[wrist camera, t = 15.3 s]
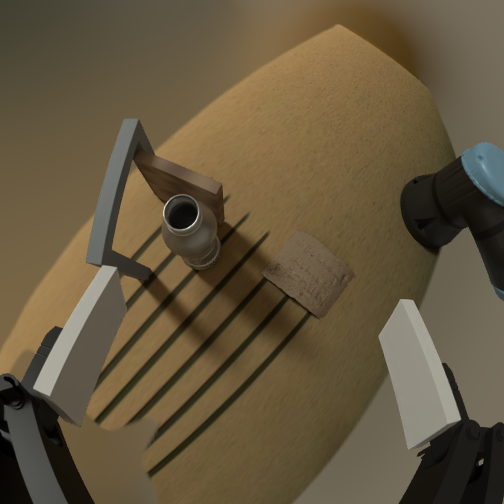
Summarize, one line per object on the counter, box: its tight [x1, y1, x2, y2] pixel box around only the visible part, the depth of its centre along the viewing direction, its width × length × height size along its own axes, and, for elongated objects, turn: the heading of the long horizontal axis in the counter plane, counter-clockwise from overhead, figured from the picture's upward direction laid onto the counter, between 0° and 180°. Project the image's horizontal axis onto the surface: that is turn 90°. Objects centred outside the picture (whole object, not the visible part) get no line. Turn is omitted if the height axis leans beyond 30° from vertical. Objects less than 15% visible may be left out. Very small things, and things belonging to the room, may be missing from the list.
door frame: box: [86, 119, 155, 280], centre depth 37 cm, size 2×18×18 cm, turn 174°
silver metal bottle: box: [162, 194, 221, 270], centre depth 36 cm, size 6×7×20 cm
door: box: [133, 149, 225, 227], centre depth 39 cm, size 13×3×14 cm, turn 65°
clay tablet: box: [261, 230, 354, 319], centre depth 45 cm, size 14×10×3 cm
